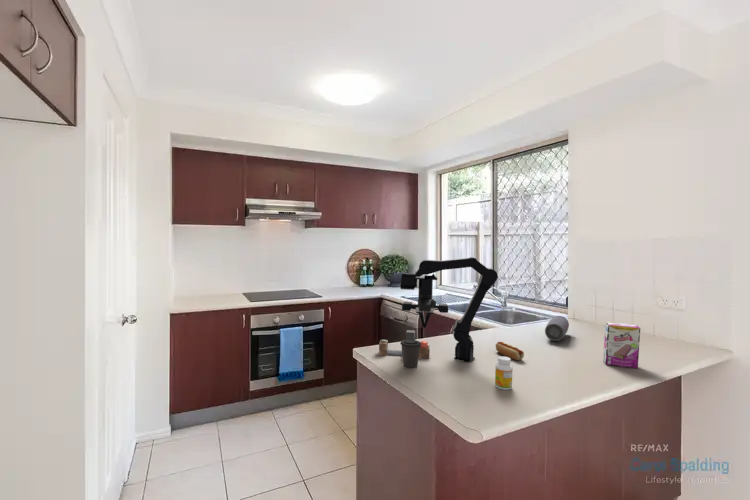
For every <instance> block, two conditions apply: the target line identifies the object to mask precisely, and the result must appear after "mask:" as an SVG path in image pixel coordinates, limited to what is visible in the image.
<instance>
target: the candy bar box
mask: <svg viewBox="0 0 750 500" xmlns="http://www.w3.org/2000/svg"><path fill="white" fill-rule="evenodd" d="M603 337H604V338H603V339H604V340H603V354H602V361H603V363H604V365H607V366H613V367H623V368H629V367H631V369H638V368H639V355H640V354H639V353H640V342H641V341H640V339H641V338H640V337H641V327H640V326H639V325H636V324H627V323H617V322H608V321H607V322H605V323H604V336H603Z"/></svg>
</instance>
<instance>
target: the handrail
mask: <svg viewBox="0 0 750 500" xmlns="http://www.w3.org/2000/svg"><path fill="white" fill-rule="evenodd" d="M387 355H388V356H389V355H391V356H402V349H401V350H399V349H387Z"/></svg>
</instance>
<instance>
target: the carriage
mask: <svg viewBox="0 0 750 500" xmlns="http://www.w3.org/2000/svg"><path fill="white" fill-rule="evenodd" d="M415 338H416V330H413V329H412V330H411V329H409V330H408V329H407V330H406V332H405V340H408V339H412V340H416V339H415Z"/></svg>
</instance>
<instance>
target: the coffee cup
mask: <svg viewBox="0 0 750 500" xmlns="http://www.w3.org/2000/svg"><path fill="white" fill-rule="evenodd" d="M399 344H400V345H401V350H402V355H401V356H402V367H403V368H405V369H407V370H415V369H417V368H418V364H419V358H418V357H419V350H420V346H421V341H419V340H416V339H415V340H412V339H408V340H406V339H403V340H401V341H400V343H399Z"/></svg>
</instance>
